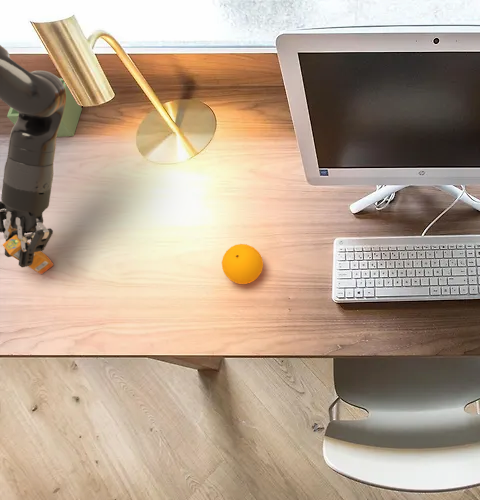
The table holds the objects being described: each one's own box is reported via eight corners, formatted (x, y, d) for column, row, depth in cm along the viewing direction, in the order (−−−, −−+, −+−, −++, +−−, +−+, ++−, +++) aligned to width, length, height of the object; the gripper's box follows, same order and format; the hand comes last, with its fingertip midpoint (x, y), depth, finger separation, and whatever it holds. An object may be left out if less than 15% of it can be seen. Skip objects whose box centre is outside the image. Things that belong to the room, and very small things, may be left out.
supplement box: (32, 266, 103) (0, 243, 94) (47, 255, 104) (17, 232, 95) (40, 276, 102) (8, 254, 93) (55, 265, 103) (24, 242, 94)
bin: (27, 138, 120) (6, 116, 113) (39, 102, 125) (21, 79, 119) (73, 136, 120) (56, 114, 113) (84, 100, 125) (68, 77, 118)
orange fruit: (273, 265, 101) (266, 248, 94) (249, 296, 98) (240, 280, 91) (243, 247, 103) (234, 229, 97) (219, 276, 100) (208, 260, 94)
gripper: (-18, 166, 90) (-25, 248, 96) (33, 200, 86) (22, 283, 92) (23, 164, 96) (14, 240, 102) (72, 195, 92) (60, 273, 98)
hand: (18, 260), depth 97 cm, fingers closed on supplement box, 3 cm apart
